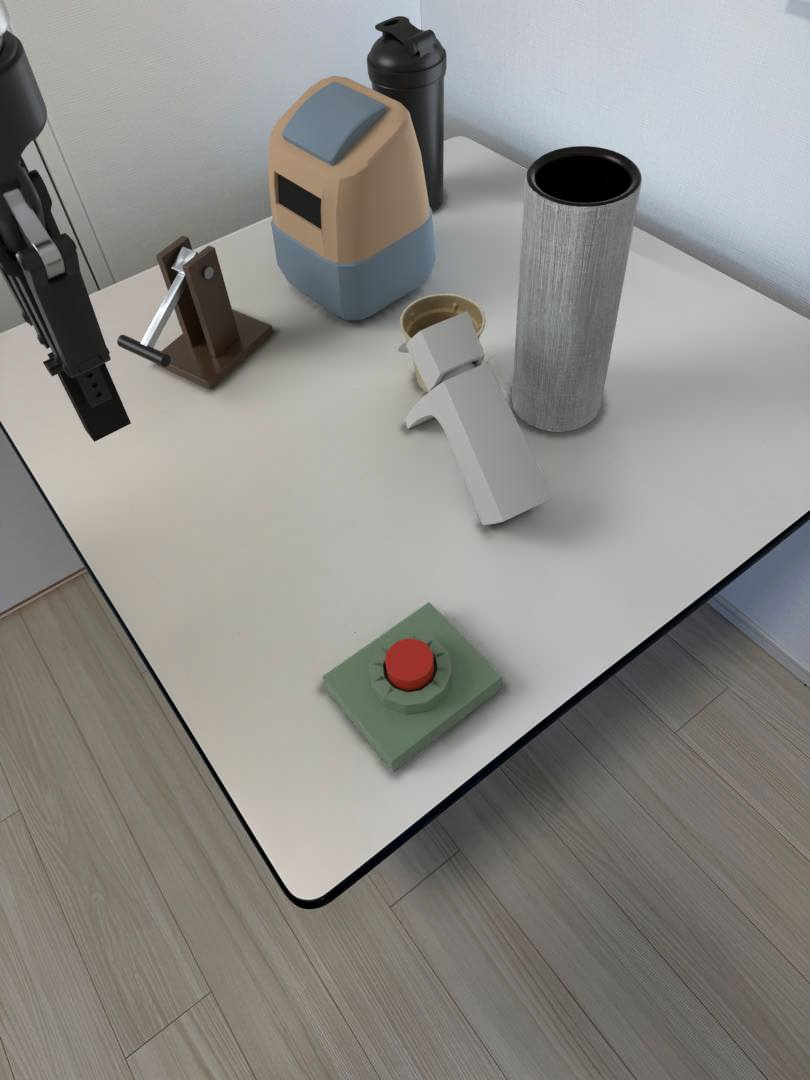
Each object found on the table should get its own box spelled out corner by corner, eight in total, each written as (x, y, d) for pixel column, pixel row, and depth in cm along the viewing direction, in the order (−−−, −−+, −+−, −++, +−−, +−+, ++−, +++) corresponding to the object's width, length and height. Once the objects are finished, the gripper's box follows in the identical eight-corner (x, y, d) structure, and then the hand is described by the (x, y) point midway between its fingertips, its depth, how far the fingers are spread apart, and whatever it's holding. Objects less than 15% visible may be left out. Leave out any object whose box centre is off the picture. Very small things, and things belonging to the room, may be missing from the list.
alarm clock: (271, 285, 109) (231, 107, 91) (366, 232, 115) (347, 55, 97) (351, 341, 101) (325, 159, 83) (448, 281, 107) (445, 99, 89)
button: (406, 699, 68) (405, 689, 66) (377, 666, 70) (375, 656, 68) (443, 671, 69) (443, 661, 68) (414, 640, 71) (413, 629, 70)
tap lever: (169, 371, 92) (156, 362, 89) (125, 350, 94) (112, 341, 92) (224, 268, 92) (212, 257, 90) (179, 251, 95) (167, 240, 92)
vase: (615, 390, 93) (661, 160, 71) (576, 446, 88) (612, 217, 67) (537, 361, 97) (558, 134, 75) (495, 413, 92) (504, 187, 70)
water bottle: (417, 174, 124) (409, 3, 105) (463, 199, 119) (463, 25, 100) (365, 200, 120) (347, 28, 102) (410, 228, 115) (399, 53, 97)
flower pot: (501, 377, 96) (503, 317, 89) (445, 419, 92) (443, 360, 85) (443, 342, 100) (441, 282, 93) (387, 381, 96) (381, 322, 89)
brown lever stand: (210, 390, 97) (177, 292, 86) (156, 364, 101) (118, 268, 90) (273, 333, 103) (250, 235, 92) (220, 311, 106) (192, 213, 95)
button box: (393, 772, 68) (389, 753, 64) (325, 688, 73) (318, 666, 70) (501, 688, 72) (503, 667, 68) (429, 614, 77) (428, 590, 73)
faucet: (502, 522, 77) (414, 325, 75) (448, 530, 92) (374, 367, 91) (557, 495, 78) (472, 301, 77) (494, 508, 94) (423, 347, 92)
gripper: (68, 70, 34) (203, 455, 53) (-37, -17, 41) (117, 353, 60) (-112, 131, 32) (97, 512, 51) (-193, 27, 38) (19, 399, 57)
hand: (108, 426), depth 55 cm, fingers closed
